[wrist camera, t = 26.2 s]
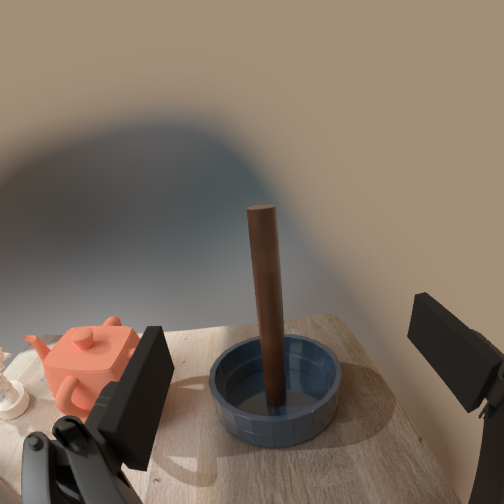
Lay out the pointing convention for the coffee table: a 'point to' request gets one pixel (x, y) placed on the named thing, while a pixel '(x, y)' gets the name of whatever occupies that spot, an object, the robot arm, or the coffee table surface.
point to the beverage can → (8, 495)
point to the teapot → (85, 363)
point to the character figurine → (11, 395)
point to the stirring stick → (268, 299)
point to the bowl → (297, 391)
